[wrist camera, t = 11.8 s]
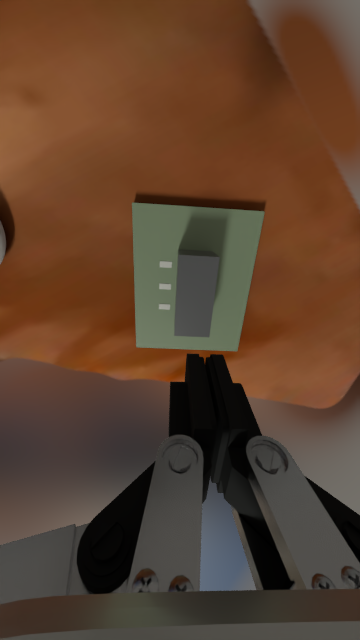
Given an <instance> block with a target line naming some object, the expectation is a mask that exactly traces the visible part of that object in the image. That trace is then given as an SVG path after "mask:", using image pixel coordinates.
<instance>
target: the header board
mask: <svg viewBox="0 0 360 640" xmlns="http://www.w3.org/2000/svg"><path fill="white" fill-rule="evenodd" d="M264 212H265V211H251V210H236V209H221V208H206V207H191V206H176V205H161V204H146V203H132V216H133V250H134V284H135V318H136V347H144V348H170V349H195V350H221V351H237V350H238V345H239V339H240V334H241V329H242V324H243V319H244V314H245V309H246V304H247V299H248V294H249V289H250V284H251V279H252V273H253V268H254V263H255V258H256V253H257V248H258V243H259V238H260V233H261V228H262V223H263V218H264ZM178 249H182V250H199V251H213V252H214V253H215V254H217V255H218V256H219V257H220V259H219V267H218V275H217V283H216V290H215V298H214V306H213V313H212V321H211V329H210V337H187V336H174V318H175V299H176V280H177V260H178Z"/></svg>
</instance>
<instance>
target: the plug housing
mask: <svg viewBox="0 0 360 640" xmlns="http://www.w3.org/2000/svg"><path fill="white" fill-rule="evenodd" d="M219 259H220V257H219V256H218V255H217V254H215V253H214V252H213V251H199V250H182V249H178V260H177V280H176V299H175V318H174V336H187V337H210V329H211V321H212V313H213V306H214V298H215V290H216V283H217V275H218V267H219Z"/></svg>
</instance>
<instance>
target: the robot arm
mask: <svg viewBox="0 0 360 640" xmlns="http://www.w3.org/2000/svg"><path fill="white" fill-rule="evenodd" d="M169 409H170V410H169V438H167V439H166V440H164V442H163V443H162V444H161V445H160V447H159V450H158V453H157V458H156V461H155V462H154V463H153V464H152V465H151V466H150V467H148V468H147V470H145V471H144V472H143V473H142V474H141V475H140V476H139V477H138V478H137V479H136V480H134V481H133V482H132V483H131V484H130V485H129V486H128V487H127V488H126V489H125V490H124V491H123V492H122V493H121V494H119V496H117V497H116V498H115V499H114V500H113V501H112V502H111V503H110V504H109V505H108V506H106V507H105V508H104V509H103V510H102V511H101V512H100V513H99V514H98V515H97V516H96V517H95V518H94V519H93V520H92V521H91V522H90V523H88V524H84V525H81V526H78V527H76V526H75V524H73V525H69V526H66V527H62V528H59V529H55V530H52V531H48V532H45V533H42V534H38V535H34V536H31V537H27V538H24V539H21V540H17V541H13V542H10V543H6V544H3V545H0V640H360V515H359V514H357V513H356V512H354V511H353V510H352V509H350V508H349V507H347V506H346V505H345V504H343V503H342V502H340V501H339V500H338V499H336V498H334V497H333V496H332V495H330V494H329V493H328V492H326V491H325V490H323V489H322V488H321V487H319V486H318V485H317V484H315V483H314V482H312V481H311V480H310V479H308V478H307V477H305V476H304V475H303V474H302V472H301V470H300V469H299V467H298V466H297V464H296V463H295V461H294V459H293V458H292V456H291V455H290V453H289V452H288V451H287V449H286V448H285V447H284V446H283V445H282V444H281V443H279V442H278V441H276V440H274V439H273V438H270V437H267V436H262V434H261V432H260V429H259V427H258V424H257V422H256V419H255V417H254V414H253V412H252V409H251V407H250V404H249V402H248V399H247V397H246V394H245V392H244V389H243V387H242V385H241V384H240V383H233V382H232V379H231V376H230V373H229V371H228V368H227V365H226V362H225V359H224V356H223V355H216V354H211V355H210V357H206V362H205V363H204V358H203V357H199V354H187V359H186V372H185V382H170V408H169ZM210 476H211V481H212V483H216V484H217V490H218V493H224V498H225V500H226V501H227V502H228V503H229V504H230V505H231V508H232V513H233V516H234V520H235V523H236V526H237V529H238V532H239V536H240V539H241V542H242V545H243V548H244V551H245V554H246V558H247V561H248V564H249V567H250V570H251V573H252V577H253V580H254V583H255V586H256V590H249V591H248V590H247V591H199V588H200V555H201V521H202V503H203V502H204V501H205V499H206V496H207V490H208V485H209V480H210Z"/></svg>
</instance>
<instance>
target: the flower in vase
mask: <svg viewBox="0 0 360 640" xmlns="http://www.w3.org/2000/svg"><path fill="white" fill-rule="evenodd" d="M5 250H6V237H5V232H4V229H3V226H2V223H1V221H0V264H1V262H2V260H3V258H4V255H5Z"/></svg>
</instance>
